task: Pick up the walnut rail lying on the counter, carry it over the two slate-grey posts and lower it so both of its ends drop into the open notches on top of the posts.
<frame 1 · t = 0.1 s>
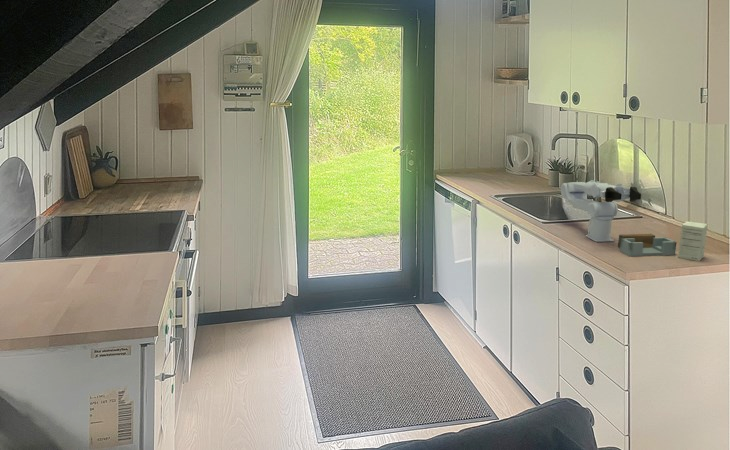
hand: (630, 196, 228), 22 cm above the worktop, tool horizontal, fingers open, 7 cm apart
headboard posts: (647, 253, 232), on the worktop
supplement box: (690, 257, 226), on the worktop
rail: (635, 247, 239), on the worktop
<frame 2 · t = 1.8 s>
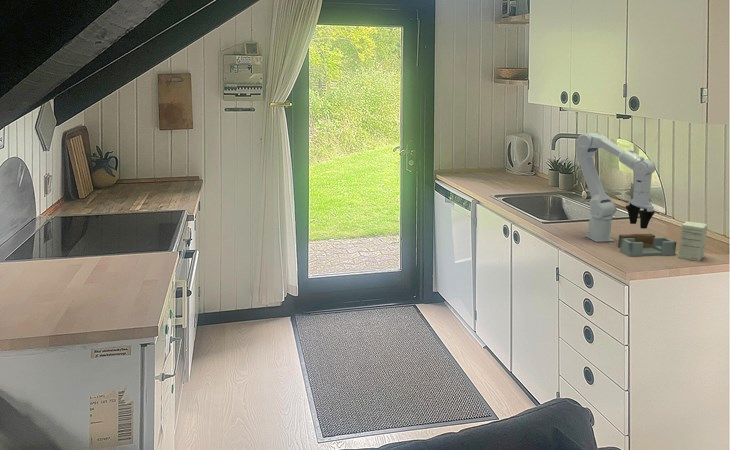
hand: (638, 226, 237), 9 cm above the worktop, tool pointing down, fingers open, 7 cm apart
nothing on the worktop moved.
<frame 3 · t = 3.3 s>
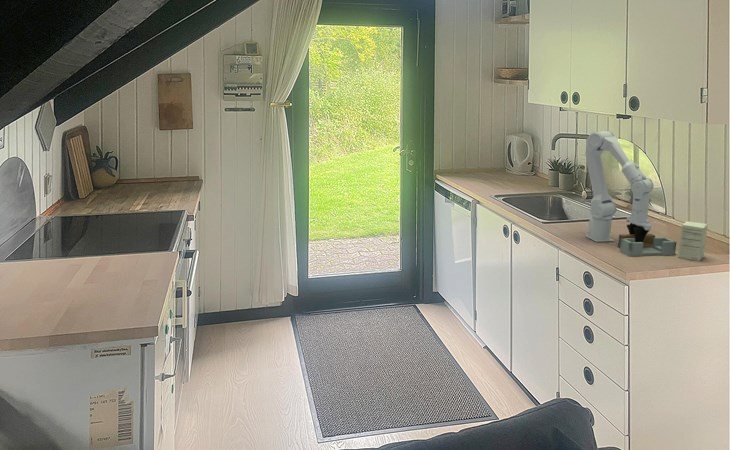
hand: (636, 243, 239), 1 cm above the worktop, tool pointing down, fingers closed on rail, 3 cm apart
rail: (635, 247, 239), on the worktop, touching gripper
everything else where it was.
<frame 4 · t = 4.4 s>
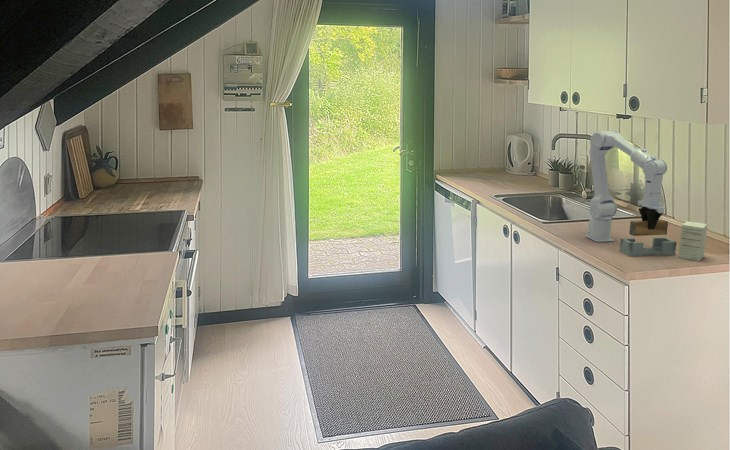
hand: (648, 228, 230), 10 cm above the worktop, tool pointing down, fingers closed on rail, 3 cm apart
rail: (647, 234, 231), point 7 cm above the worktop, touching gripper
everything else where it was.
when the fingers open (4 cm above the worktop, at t = 5.8 s): rail stays where it is, resting on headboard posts.
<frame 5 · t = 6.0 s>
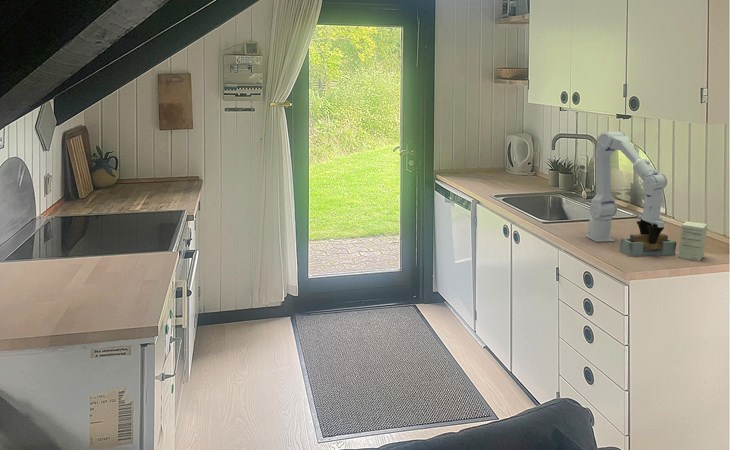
hand: (648, 241, 231), 4 cm above the worktop, tool pointing down, fingers open, 5 cm apart
rail: (647, 247, 231), point 2 cm above the worktop, touching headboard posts
everything else where it was.
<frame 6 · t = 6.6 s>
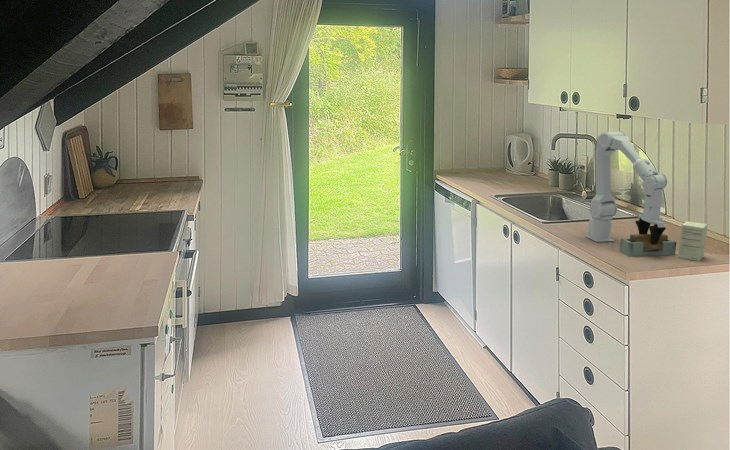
hand: (648, 241, 231), 4 cm above the worktop, tool pointing down, fingers open, 7 cm apart
nothing on the worktop moved.
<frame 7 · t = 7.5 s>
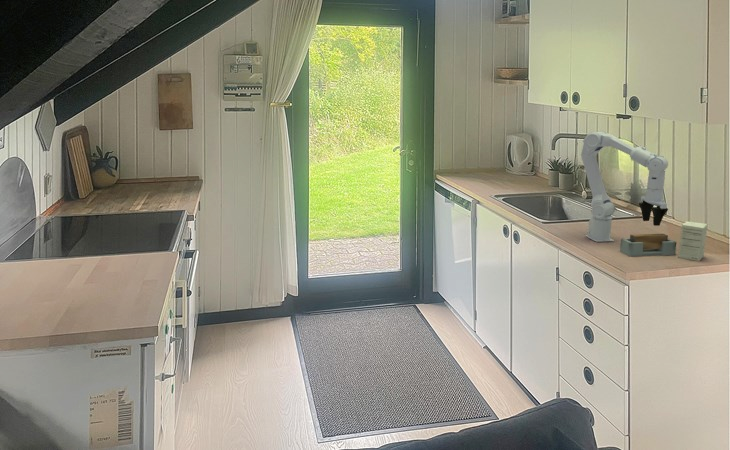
hand: (651, 223, 237), 10 cm above the worktop, tool pointing down, fingers open, 7 cm apart
nothing on the worktop moved.
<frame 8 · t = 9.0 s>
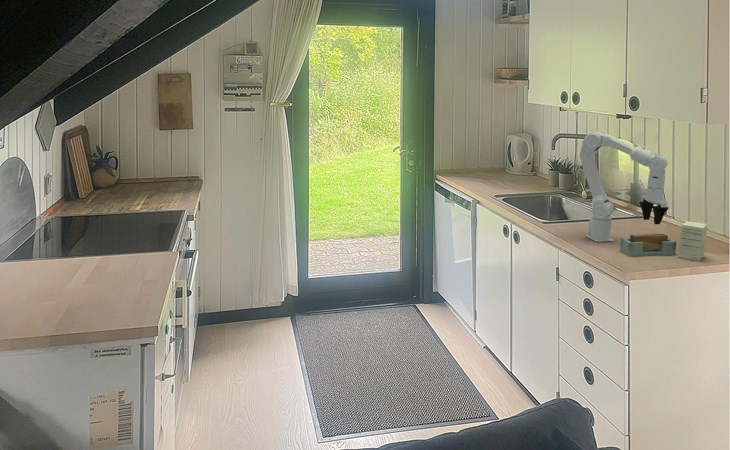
hand: (651, 221, 239), 10 cm above the worktop, tool pointing down, fingers open, 7 cm apart
nothing on the worktop moved.
at the end: rail 0.0 cm off-centre on the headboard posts, point 2.0 cm above the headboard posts's base; rail tilted 0°; the gripper is holding nothing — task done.
